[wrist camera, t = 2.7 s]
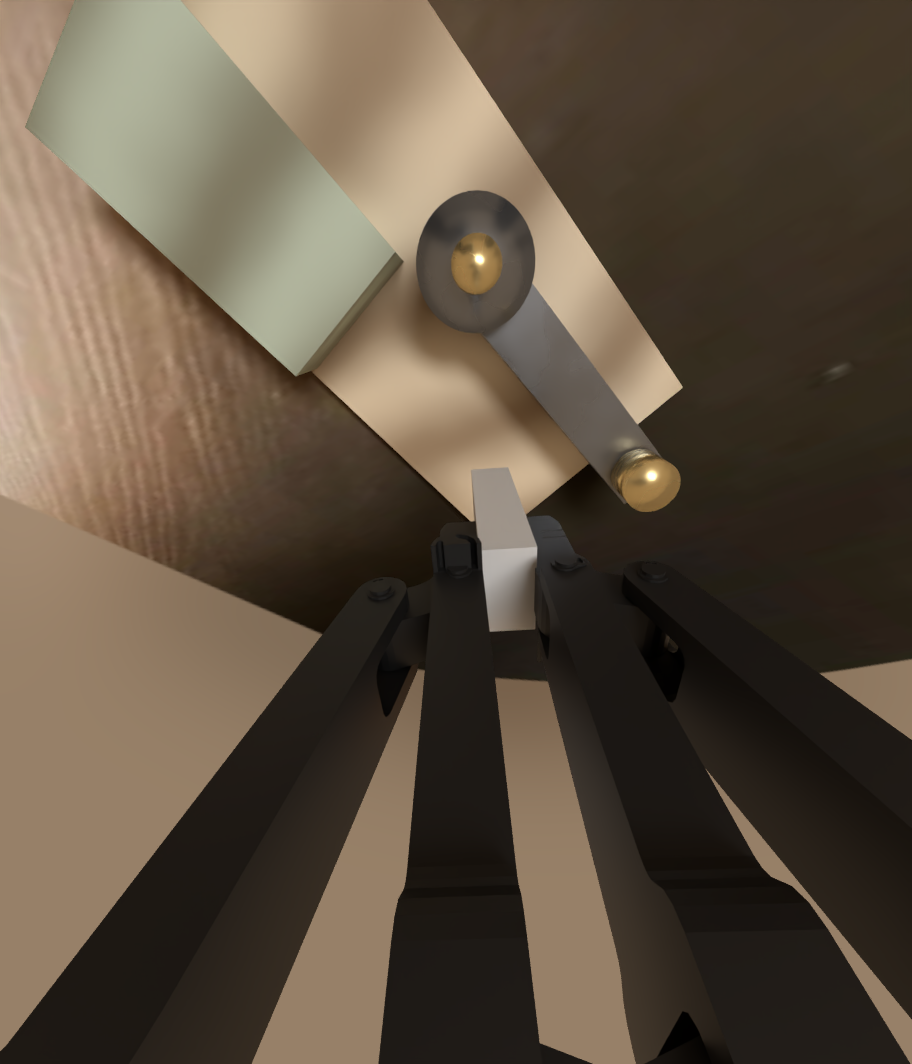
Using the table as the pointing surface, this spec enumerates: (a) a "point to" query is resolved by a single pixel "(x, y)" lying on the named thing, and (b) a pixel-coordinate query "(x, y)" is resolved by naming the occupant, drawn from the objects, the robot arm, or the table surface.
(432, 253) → the latch bar
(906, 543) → the table surface
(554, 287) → the board
